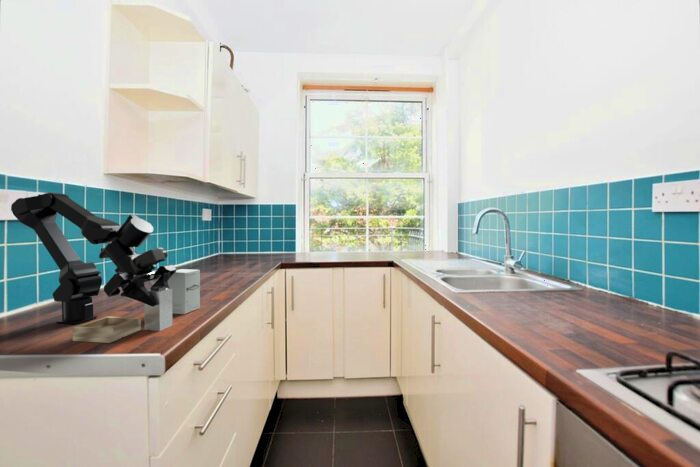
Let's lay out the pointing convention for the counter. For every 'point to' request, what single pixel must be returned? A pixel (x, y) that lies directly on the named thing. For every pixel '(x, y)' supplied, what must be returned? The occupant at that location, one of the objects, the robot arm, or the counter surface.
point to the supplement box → (185, 290)
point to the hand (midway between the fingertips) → (163, 302)
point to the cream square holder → (106, 329)
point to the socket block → (159, 309)
